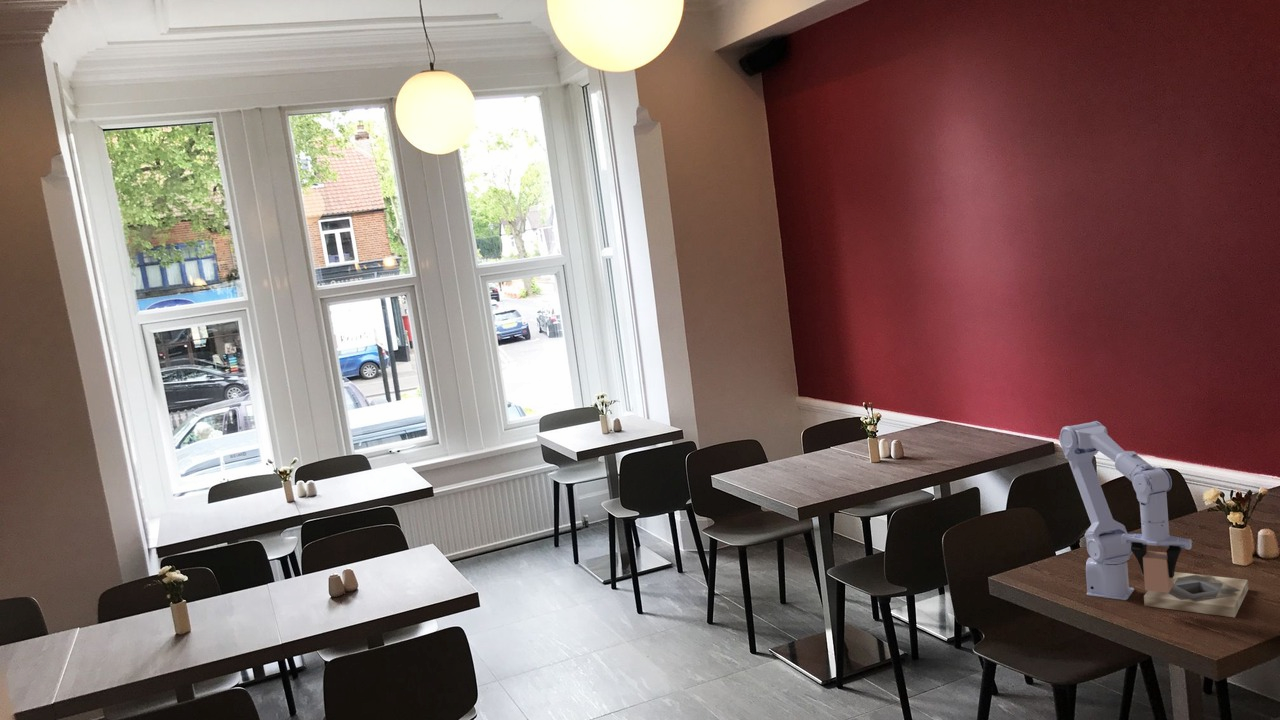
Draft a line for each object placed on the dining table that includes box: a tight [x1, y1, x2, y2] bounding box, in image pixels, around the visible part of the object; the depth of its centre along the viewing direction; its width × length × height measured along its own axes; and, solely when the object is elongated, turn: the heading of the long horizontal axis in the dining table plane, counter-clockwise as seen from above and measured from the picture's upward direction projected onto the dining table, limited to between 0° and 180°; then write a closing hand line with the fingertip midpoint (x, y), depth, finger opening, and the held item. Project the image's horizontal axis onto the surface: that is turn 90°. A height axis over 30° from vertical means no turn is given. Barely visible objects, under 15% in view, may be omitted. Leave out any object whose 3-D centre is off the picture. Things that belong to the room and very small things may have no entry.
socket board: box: [1143, 571, 1249, 618], centre depth 234 cm, size 19×19×2 cm
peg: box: [1143, 550, 1173, 593], centre depth 226 cm, size 5×5×8 cm
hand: (1158, 575), depth 226 cm, fingers closed on peg, 5 cm apart
